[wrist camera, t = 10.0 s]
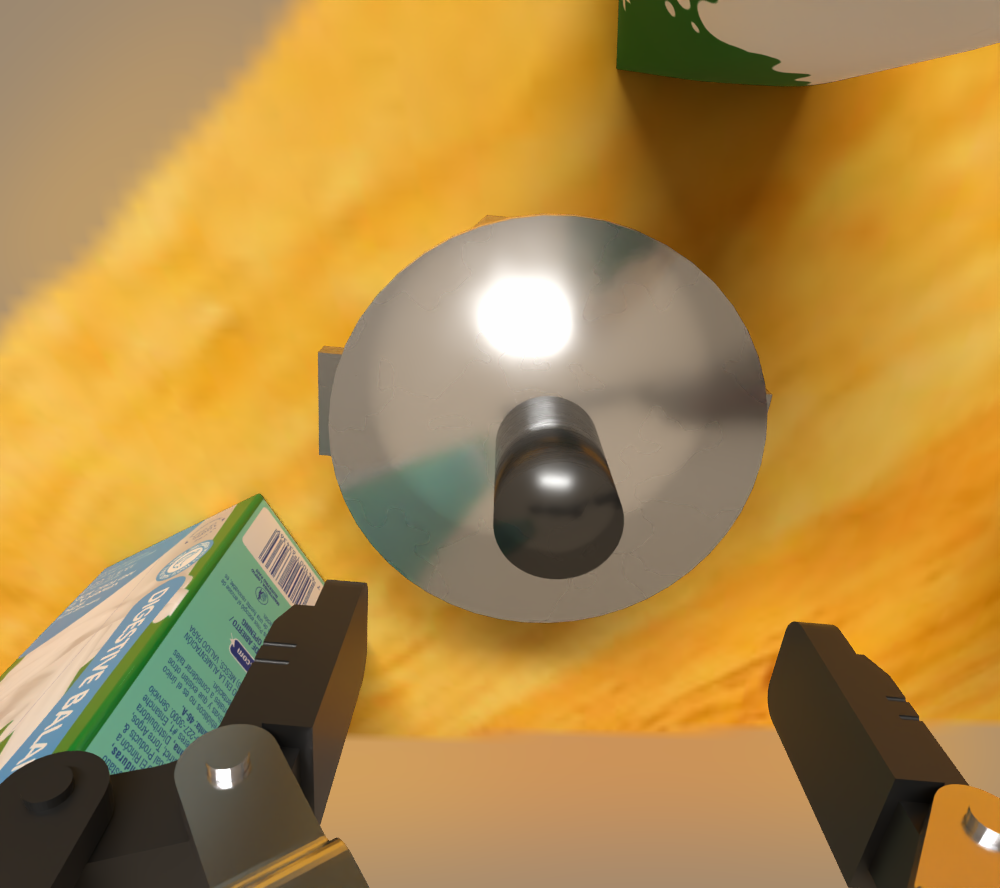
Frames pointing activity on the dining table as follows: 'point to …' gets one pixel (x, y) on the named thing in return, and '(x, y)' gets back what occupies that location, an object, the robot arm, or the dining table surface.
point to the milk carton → (155, 645)
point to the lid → (547, 418)
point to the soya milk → (795, 37)
